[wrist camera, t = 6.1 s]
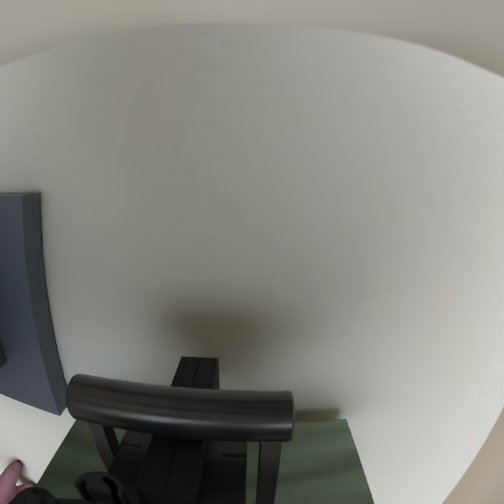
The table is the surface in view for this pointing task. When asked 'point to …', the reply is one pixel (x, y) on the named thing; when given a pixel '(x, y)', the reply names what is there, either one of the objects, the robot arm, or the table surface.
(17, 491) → the video game controller
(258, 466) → the drawer
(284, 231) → the table surface
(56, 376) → the pedestal
